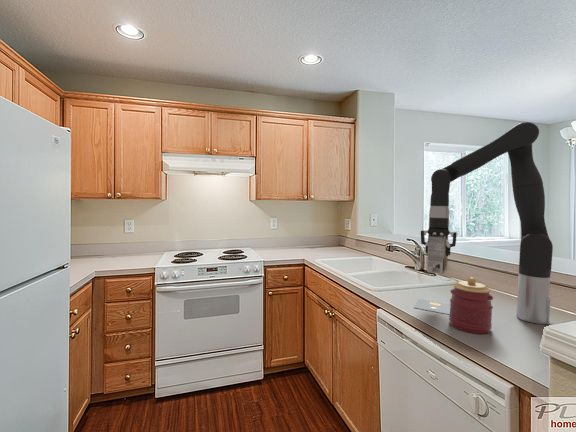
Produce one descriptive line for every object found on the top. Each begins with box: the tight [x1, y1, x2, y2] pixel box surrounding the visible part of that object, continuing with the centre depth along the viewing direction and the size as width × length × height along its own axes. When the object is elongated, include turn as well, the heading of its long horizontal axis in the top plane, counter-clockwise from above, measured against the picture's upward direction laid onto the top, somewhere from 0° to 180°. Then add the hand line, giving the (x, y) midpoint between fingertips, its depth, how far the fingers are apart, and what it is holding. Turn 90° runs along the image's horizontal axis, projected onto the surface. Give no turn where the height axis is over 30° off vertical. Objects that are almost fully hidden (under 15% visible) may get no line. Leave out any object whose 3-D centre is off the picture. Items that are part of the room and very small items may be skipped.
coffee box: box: [426, 234, 449, 275], centre depth 127 cm, size 9×6×16 cm
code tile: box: [413, 298, 450, 315], centre depth 125 cm, size 14×14×1 cm
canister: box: [448, 277, 494, 335], centre depth 105 cm, size 13×13×18 cm
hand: (437, 255), depth 127 cm, fingers closed on coffee box, 7 cm apart
